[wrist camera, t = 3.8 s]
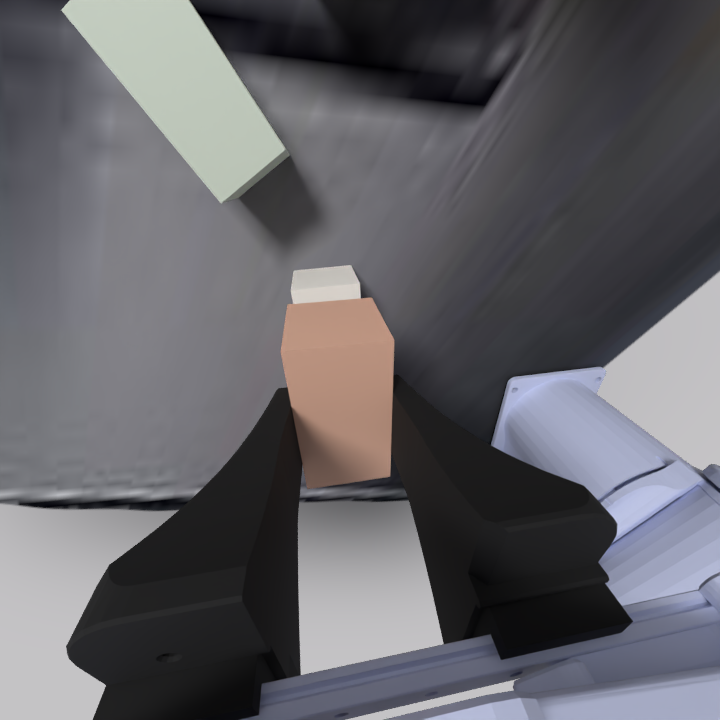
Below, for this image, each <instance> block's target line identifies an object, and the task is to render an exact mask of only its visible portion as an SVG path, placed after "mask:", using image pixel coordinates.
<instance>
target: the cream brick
mask: <svg viewBox="0 0 720 720" xmlns="http://www.w3.org/2000/svg"><path fill="white" fill-rule="evenodd" d="M291 294H292V299H293V304H300V303H312V302H324V301H336V300H348V299H360V298H361V294H360V283H359V281H358V278H357V276H356V274H355V272H354V270H353V268H352V266H351V265H347V266H337V267H327V268H317V269H307V270H296V271H294V272H293V279H292V286H291Z"/></svg>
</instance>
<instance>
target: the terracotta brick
mask: <svg viewBox="0 0 720 720" xmlns="http://www.w3.org/2000/svg"><path fill="white" fill-rule="evenodd" d="M281 356H282V361H283V366H284V371H285V376H286V382H287V387H288V392H289V397H290V402H291V407H292V412H293V417H294V423H295V428H296V433H297V438H298V443H299V448H300V453H301V458H302V464H303V469H304V474H305V479H306V484H307V489H311V488H318V487H324V486H331V485H338V484H344V483H351V482H358V481H364V480H371V479H378V478H384V477H390V467H391V434H392V401H393V368H394V339H393V337H392V335H391V333H390V331H389V329H388V327H387V326H386V324H385V322H384V320H383V318H382V316H381V314H380V312H379V310H378V309H377V307H376V305H375V303H374V301H373V299H372V297H371V298H360V299H348V300H336V301H324V302H312V303H300V304H288V305H287V312H286V319H285V326H284V333H283V339H282V346H281Z"/></svg>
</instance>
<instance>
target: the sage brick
mask: <svg viewBox="0 0 720 720" xmlns="http://www.w3.org/2000/svg"><path fill="white" fill-rule="evenodd" d="M62 12H63V13H64V14H65V15H66V16H67V18H68V19H69V20H70V21H71V23H72V24H73V25H74V26H75V27H76V29H77V30H78V31H79V32H80V33H81V35H82V36H83V37H84V38H85V39H86V41H87V42H88V43H89V44H90V45H91V47H92V48H93V49H94V50H95V52H96V53H97V54H98V55H99V56H100V58H101V59H102V60H103V61H104V62H105V64H106V65H107V66H108V67H109V68H110V70H111V71H112V72H113V73H114V75H115V76H116V77H117V78H118V79H119V81H120V82H121V83H122V84H123V85H124V87H125V88H126V89H127V90H128V91H129V93H130V94H131V95H132V96H133V98H134V99H135V100H136V101H137V102H138V104H139V105H140V106H141V107H142V108H143V110H144V111H145V112H146V113H147V114H148V116H149V117H150V118H151V119H152V121H153V122H154V123H155V124H156V125H157V127H158V128H159V129H160V130H161V131H162V133H163V134H164V135H165V136H166V137H167V139H168V140H169V141H170V142H171V144H172V145H173V146H174V147H175V148H176V150H177V151H178V152H179V153H180V154H181V156H182V157H183V158H184V159H185V160H186V162H187V163H188V164H189V165H190V167H191V168H192V169H193V170H194V171H195V173H196V174H197V175H198V176H199V177H200V179H201V180H202V181H203V182H204V183H205V185H206V186H207V187H208V188H209V190H210V191H211V192H212V193H213V194H214V196H215V197H216V198H217V199H218V200H219V202H220V203H224V202H227V201H230V200H234V199H237V198H239V197H240V196H241V195H242V194H244V193H245V192H246V191H247V190H248V189H250V188H251V187H252V186H253V185H255V184H256V183H257V182H258V181H259V180H261V179H262V178H263V177H264V176H265V175H267V174H268V173H269V172H270V171H271V170H273V169H274V168H275V167H276V166H277V165H279V164H280V163H281V162H282V161H283V160H285V159H286V158H287V157H288V156H290V154H289V152H288V151H287V149H286V148H285V146H284V145H283V143H282V142H281V140H280V139H279V137H278V136H277V134H276V132H275V131H274V129H273V128H272V126H271V125H270V123H269V122H268V120H267V119H266V117H265V115H264V114H263V112H262V111H261V109H260V108H259V106H258V105H257V103H256V102H255V100H254V99H253V97H252V95H251V94H250V92H249V91H248V89H247V88H246V86H245V85H244V83H243V82H242V80H241V78H240V77H239V75H238V74H237V72H236V71H235V69H234V68H233V66H232V65H231V63H230V62H229V60H228V58H227V57H226V55H225V54H224V52H223V51H222V49H221V48H220V46H219V45H218V43H217V42H216V40H215V38H214V37H213V35H212V34H211V32H210V31H209V29H208V28H207V26H206V25H205V23H204V21H203V20H202V18H201V17H200V15H199V14H198V12H197V11H196V9H195V8H194V6H193V5H192V3H191V1H190V0H70V1H69V2H68V3H67V4H66V5H65V6H64V8H63V9H62Z"/></svg>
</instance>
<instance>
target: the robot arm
mask: <svg viewBox="0 0 720 720" xmlns="http://www.w3.org/2000/svg"><path fill="white" fill-rule="evenodd" d="M605 374H606V370H605V369H603V368H602V367H594V368H585V369H577V370H569V371H560V372H552V373H543V374H535V375H526V376H518V377H513V378H511V379H510V380H509V381H508V383H507V386H506V390H505V394H504V398H503V401H502V405H501V409H500V413H499V416H498V420H497V424H496V428H495V431H494V435H493V439H492V442H491V445H489V444H487V443H486V442H484V441H482V440H480V439H479V438H477V437H475V436H474V435H472V434H471V433H469V432H467V431H466V430H464V429H463V428H461V427H460V426H458V425H457V424H455V423H454V422H452V421H451V420H450V419H448V418H447V417H446V416H444V415H443V414H442V413H440V412H439V411H438V410H436V409H435V408H434V407H433V406H432V405H430V404H429V403H428V402H427V401H426V400H425V399H423V398H422V397H421V396H420V395H419V394H418V393H417V392H416V391H415V390H413V389H412V388H411V387H410V386H409V385H408V384H407V383H406V382H405V381H404V380H403V379H402V378H401V377H399V376H398V375H393V401H392V434H391V453H392V455H393V458H394V461H395V464H396V466H397V469H398V472H399V474H400V477H401V480H402V482H403V485H404V488H405V490H406V493H407V496H408V499H409V502H410V506H411V509H412V513H413V517H414V520H415V524H416V528H417V532H418V536H419V540H420V544H421V548H422V552H423V556H424V560H425V564H426V568H427V572H428V576H429V581H430V585H431V589H432V593H433V597H434V602H435V606H436V611H437V615H438V620H439V624H440V629H441V633H442V637H443V642H444V644H443V645H439V646H434V647H430V648H425V649H420V650H416V651H411V652H406V653H402V654H397V655H392V656H388V657H383V658H379V659H374V660H369V661H365V662H361V663H355V664H351V665H346V666H342V667H337V668H332V669H328V670H323V671H318V672H314V673H309V674H305V675H301V674H300V641H299V604H298V603H299V602H298V508H299V497H300V486H301V475H302V458H301V453H300V448H299V443H298V438H297V433H296V428H295V423H294V417H293V412H292V407H291V402H290V397H289V392H288V387H287V388H279V389H278V390H277V391H276V392H275V394H274V396H273V398H272V400H271V401H270V403H269V405H268V407H267V408H266V410H265V411H264V413H263V415H262V416H261V418H260V419H259V421H258V422H257V424H256V425H255V427H254V428H253V430H252V431H251V433H250V434H249V435H248V437H247V438H246V439H245V441H244V442H243V443H242V445H241V446H240V447H239V449H238V450H237V451H236V452H235V454H234V455H233V456H232V457H231V459H230V460H229V461H228V462H227V463H226V464H225V465H224V467H223V468H222V469H221V470H220V471H219V472H218V473H217V474H216V475H215V476H214V477H213V478H212V479H211V480H210V481H209V483H208V484H207V485H206V486H205V487H204V488H203V489H202V490H200V491H199V492H198V493H197V494H196V495H195V496H194V497H193V498H192V499H191V500H190V501H189V502H188V503H187V504H186V505H184V506H183V507H182V508H181V509H180V510H179V511H178V512H176V514H174V515H173V516H172V517H171V518H169V519H168V520H167V521H166V522H165V523H163V524H162V525H161V526H160V527H159V528H157V529H156V530H155V531H154V532H152V533H151V534H150V535H148V536H147V537H146V538H144V539H143V540H142V541H141V542H140V543H138V544H137V545H135V546H134V547H133V548H131V549H130V550H129V551H127V552H126V553H125V554H123V555H122V556H121V557H119V558H118V559H117V560H116V561H114V562H113V563H111V564H110V565H109V567H108V569H107V570H106V572H105V573H104V575H103V577H102V578H101V580H100V582H99V583H98V585H97V587H96V589H95V591H94V593H93V595H92V597H91V599H90V601H89V603H88V605H87V607H86V609H85V610H84V612H83V614H82V617H81V618H80V620H79V623H78V624H77V626H76V628H75V630H74V632H73V634H72V636H71V638H70V640H69V642H68V644H67V646H66V648H67V654H68V657H69V659H70V660H71V661H72V662H73V663H74V664H75V665H76V666H77V667H79V668H80V669H82V670H83V671H85V672H87V673H88V674H90V675H91V676H93V677H94V678H96V679H98V680H99V681H101V682H102V683H104V684H105V685H106V687H105V690H104V693H103V695H102V698H101V700H100V703H99V705H98V708H97V710H96V713H95V715H94V718H93V720H345V719H349V718H354V717H358V716H362V715H366V714H371V713H375V712H379V711H383V710H388V709H392V708H396V707H400V706H405V705H409V704H413V703H417V702H422V701H426V700H430V699H434V698H438V697H443V696H447V695H451V694H456V693H459V692H464V691H468V690H472V689H477V688H481V687H485V686H489V685H494V684H498V683H502V682H506V681H510V680H515V679H518V680H516V681H514V686H513V689H514V691H508V692H502V693H496V694H490V695H485V696H481V697H476V698H473V699H468V700H464V701H460V702H455V703H451V704H447V705H443V706H439V707H435V708H431V709H427V710H422V711H418V712H414V713H410V714H405V715H401V716H397V717H393V718H389V719H384V720H720V466H718V465H715V464H711V465H709V466H708V467H707V468H706V469H704V470H703V471H702V470H700V469H697V468H695V467H693V466H691V465H690V464H689V463H687V462H686V461H684V460H683V459H682V458H681V457H679V456H678V455H677V454H675V453H674V452H673V451H671V450H670V449H669V448H667V447H666V446H665V445H663V444H662V443H661V442H659V441H658V440H657V439H655V438H654V437H653V436H651V435H650V434H649V433H647V432H646V431H644V430H643V429H642V428H641V427H639V426H638V425H637V424H635V423H634V422H633V421H631V420H630V419H629V418H627V417H626V416H625V415H623V414H622V413H621V412H619V411H618V410H617V409H616V408H614V407H613V406H612V405H610V404H609V403H607V402H606V401H605V400H604V399H602V398H601V397H600V396H598V395H597V391H598V389H599V387H600V385H601V383H602V381H603V378H604V376H605ZM513 388H514V389H513ZM519 678H520V679H519Z"/></svg>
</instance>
